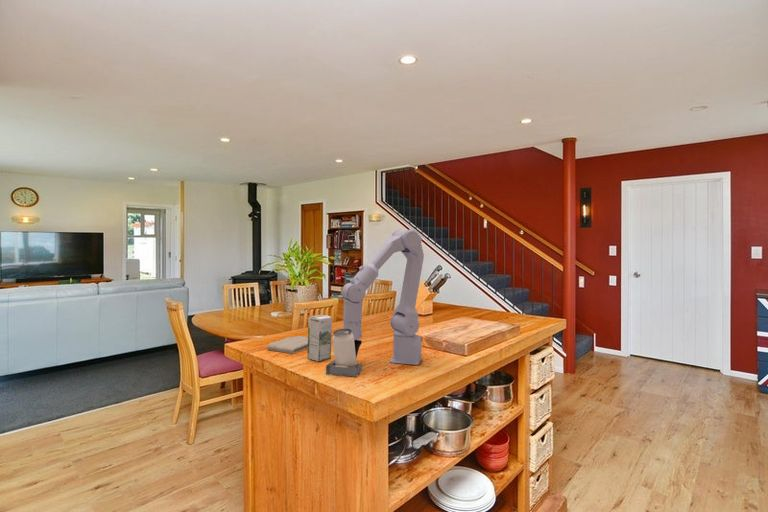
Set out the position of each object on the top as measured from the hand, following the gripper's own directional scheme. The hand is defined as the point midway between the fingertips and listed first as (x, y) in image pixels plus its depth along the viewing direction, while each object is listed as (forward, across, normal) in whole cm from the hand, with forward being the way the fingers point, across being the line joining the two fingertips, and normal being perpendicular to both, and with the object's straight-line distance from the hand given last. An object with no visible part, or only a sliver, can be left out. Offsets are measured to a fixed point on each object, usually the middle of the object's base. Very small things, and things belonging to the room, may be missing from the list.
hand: (351, 363), depth 124 cm
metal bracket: (+1, -1, 0) cm, 2 cm away
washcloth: (+2, -18, -28) cm, 34 cm away
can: (+1, +3, 0) cm, 3 cm away
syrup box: (+1, -6, -14) cm, 15 cm away
